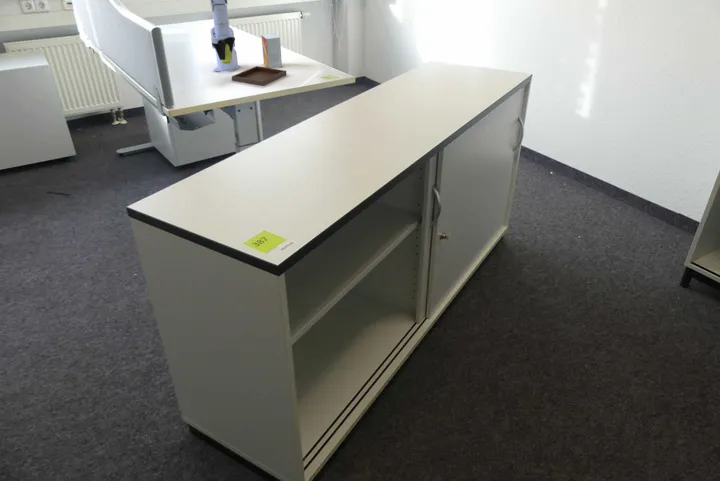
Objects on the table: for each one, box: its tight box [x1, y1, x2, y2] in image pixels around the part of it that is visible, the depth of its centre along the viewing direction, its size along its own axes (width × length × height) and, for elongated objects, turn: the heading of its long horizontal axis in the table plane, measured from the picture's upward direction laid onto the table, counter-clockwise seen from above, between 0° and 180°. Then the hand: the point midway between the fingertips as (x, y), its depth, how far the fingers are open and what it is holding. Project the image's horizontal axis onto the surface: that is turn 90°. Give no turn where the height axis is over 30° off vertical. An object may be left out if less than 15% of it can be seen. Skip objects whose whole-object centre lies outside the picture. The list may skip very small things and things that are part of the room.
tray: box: [231, 65, 288, 87], centre depth 234 cm, size 18×16×2 cm
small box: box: [260, 33, 283, 69], centre depth 248 cm, size 8×6×13 cm
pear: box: [221, 40, 232, 64], centre depth 225 cm, size 5×5×9 cm
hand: (225, 57), depth 226 cm, fingers closed on pear, 5 cm apart
